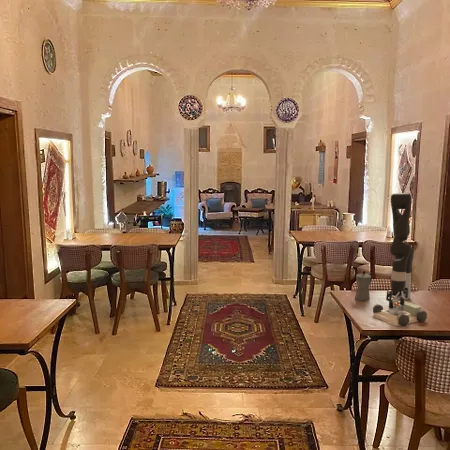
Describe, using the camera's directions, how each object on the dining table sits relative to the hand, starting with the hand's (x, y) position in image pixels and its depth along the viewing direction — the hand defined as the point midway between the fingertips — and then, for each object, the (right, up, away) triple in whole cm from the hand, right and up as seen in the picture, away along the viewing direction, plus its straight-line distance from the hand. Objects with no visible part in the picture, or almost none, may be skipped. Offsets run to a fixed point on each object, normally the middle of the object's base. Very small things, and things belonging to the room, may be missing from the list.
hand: (396, 306), depth 245 cm
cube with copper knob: (0, -5, +1) cm, 5 cm away
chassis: (+2, -7, +2) cm, 7 cm away
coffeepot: (-7, -1, +37) cm, 37 cm away
